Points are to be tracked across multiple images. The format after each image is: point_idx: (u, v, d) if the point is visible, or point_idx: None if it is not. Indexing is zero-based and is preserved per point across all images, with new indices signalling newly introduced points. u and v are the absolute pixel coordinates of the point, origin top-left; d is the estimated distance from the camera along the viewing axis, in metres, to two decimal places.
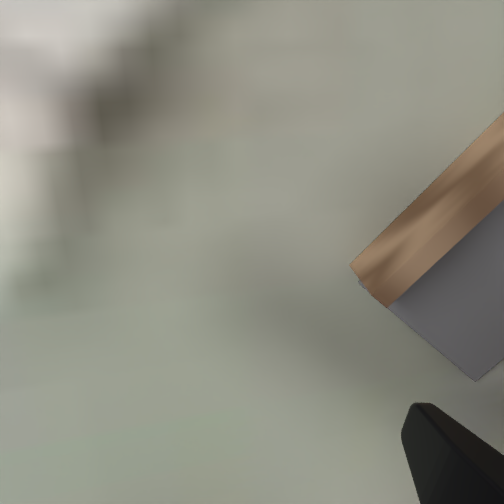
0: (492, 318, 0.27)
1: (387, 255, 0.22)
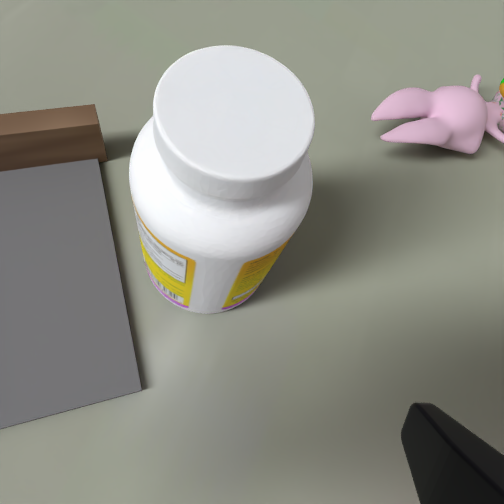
0: (61, 331, 0.21)
1: None
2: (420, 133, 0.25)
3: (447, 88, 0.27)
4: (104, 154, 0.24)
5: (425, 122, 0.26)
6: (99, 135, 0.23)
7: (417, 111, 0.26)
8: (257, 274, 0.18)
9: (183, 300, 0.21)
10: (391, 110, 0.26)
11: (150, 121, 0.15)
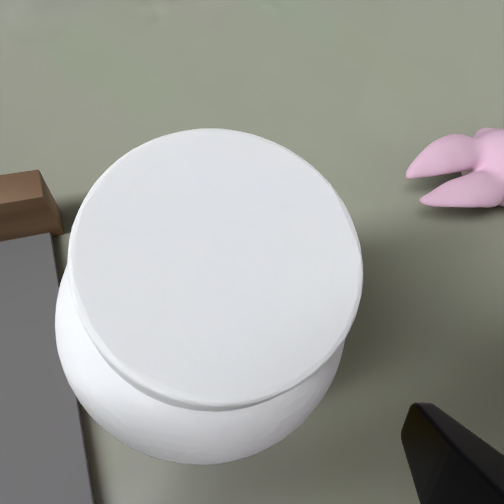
0: None
1: None
2: (470, 195, 0.20)
3: (496, 133, 0.22)
4: (58, 227, 0.19)
5: (474, 179, 0.21)
6: (47, 208, 0.17)
7: (462, 164, 0.21)
8: None
9: None
10: (431, 165, 0.21)
11: None
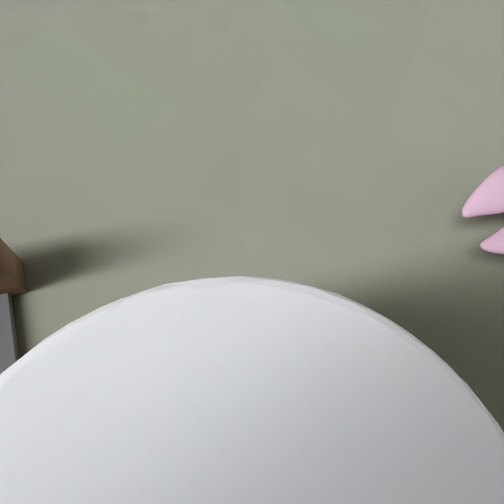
0: None
1: None
2: None
3: None
4: (17, 287, 0.15)
5: None
6: None
7: None
8: None
9: None
10: (494, 201, 0.17)
11: None
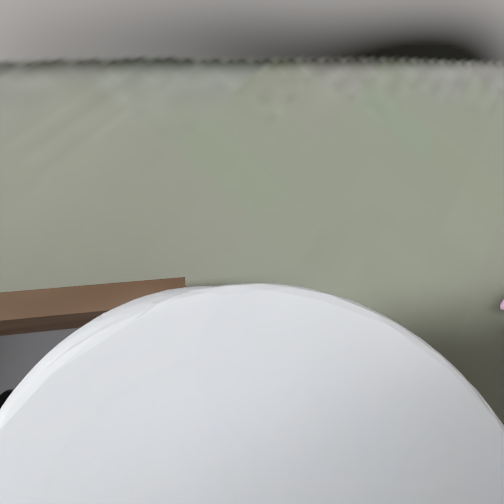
0: None
1: None
2: None
3: None
4: None
5: None
6: None
7: None
8: None
9: None
10: None
11: None
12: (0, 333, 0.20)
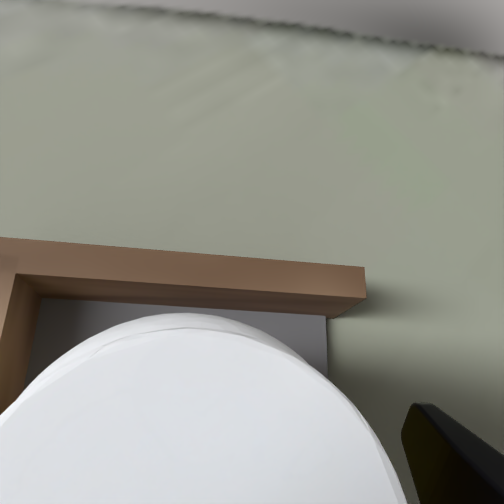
0: None
1: None
2: None
3: None
4: (337, 314, 0.18)
5: None
6: (353, 304, 0.17)
7: None
8: None
9: None
10: None
11: None
12: (133, 300, 0.17)
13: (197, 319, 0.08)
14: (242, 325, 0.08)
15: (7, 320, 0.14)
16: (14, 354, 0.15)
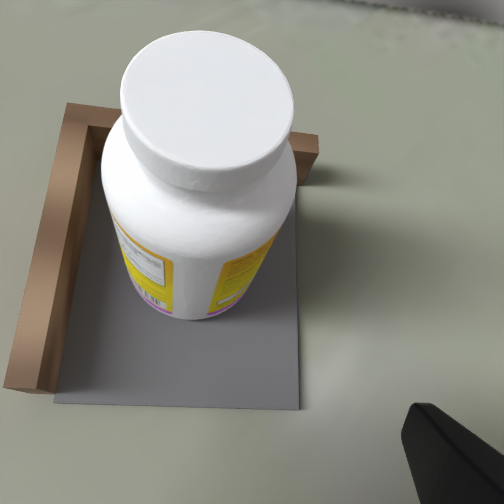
0: (238, 332, 0.22)
1: None
2: None
3: None
4: (302, 179, 0.26)
5: None
6: (311, 163, 0.24)
7: None
8: (241, 276, 0.17)
9: (166, 306, 0.20)
10: None
11: None
12: None
13: None
14: None
15: (83, 152, 0.21)
16: (85, 182, 0.22)
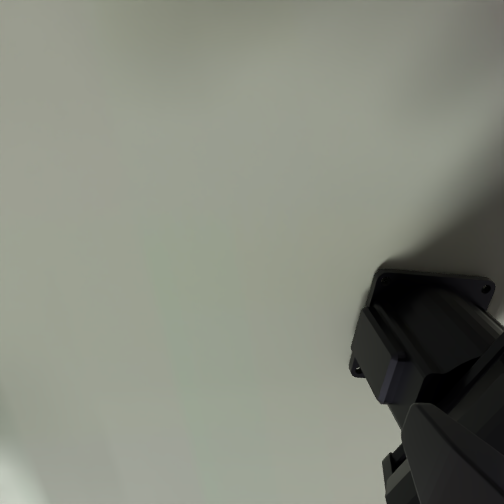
0: None
1: None
2: None
3: None
4: None
5: None
6: None
7: None
8: None
9: None
10: None
11: None
12: None
13: None
14: None
15: None
16: None
